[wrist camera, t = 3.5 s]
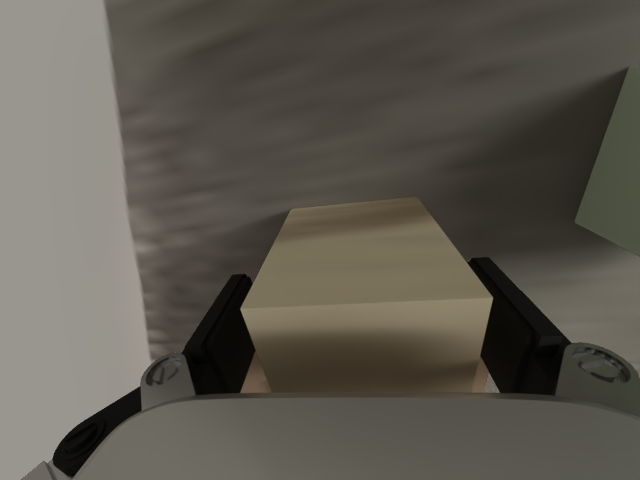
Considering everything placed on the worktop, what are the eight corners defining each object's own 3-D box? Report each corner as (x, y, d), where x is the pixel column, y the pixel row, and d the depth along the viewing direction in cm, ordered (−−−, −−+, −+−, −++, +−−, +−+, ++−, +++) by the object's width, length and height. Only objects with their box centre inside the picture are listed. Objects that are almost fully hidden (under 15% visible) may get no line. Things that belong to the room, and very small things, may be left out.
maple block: (291, 208, 13) (240, 308, 7) (416, 196, 12) (493, 297, 6) (310, 301, 15) (286, 432, 9) (412, 296, 15) (461, 437, 8)
